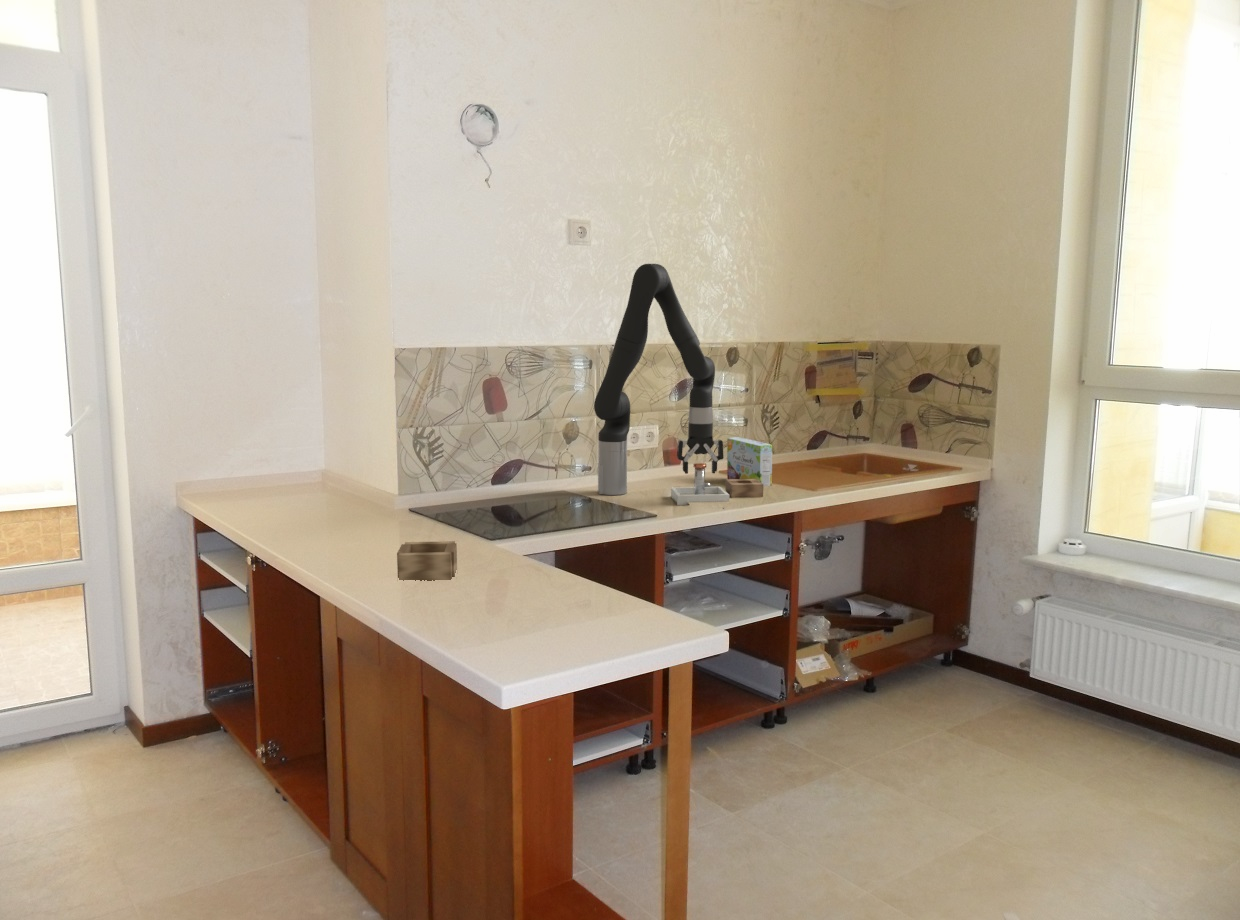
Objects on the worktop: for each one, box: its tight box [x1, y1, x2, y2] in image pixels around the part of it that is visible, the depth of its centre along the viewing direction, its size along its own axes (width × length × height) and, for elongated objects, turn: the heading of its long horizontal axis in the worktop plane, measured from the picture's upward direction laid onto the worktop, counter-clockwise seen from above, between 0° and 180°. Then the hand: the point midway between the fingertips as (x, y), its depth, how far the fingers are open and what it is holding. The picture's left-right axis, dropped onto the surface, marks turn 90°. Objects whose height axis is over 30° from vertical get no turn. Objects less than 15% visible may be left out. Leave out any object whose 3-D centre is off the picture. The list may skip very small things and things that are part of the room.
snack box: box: [726, 436, 773, 487], centre depth 329 cm, size 21×6×15 cm, turn 25°
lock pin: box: [692, 462, 707, 495], centre depth 299 cm, size 4×4×11 cm
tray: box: [670, 486, 730, 506], centre depth 300 cm, size 16×14×3 cm
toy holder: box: [396, 540, 458, 581], centre depth 210 cm, size 12×12×7 cm
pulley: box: [705, 482, 718, 487], centre depth 310 cm, size 7×7×4 cm
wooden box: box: [724, 478, 764, 499], centre depth 305 cm, size 10×10×5 cm
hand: (699, 473), depth 299 cm, fingers open, 8 cm apart
